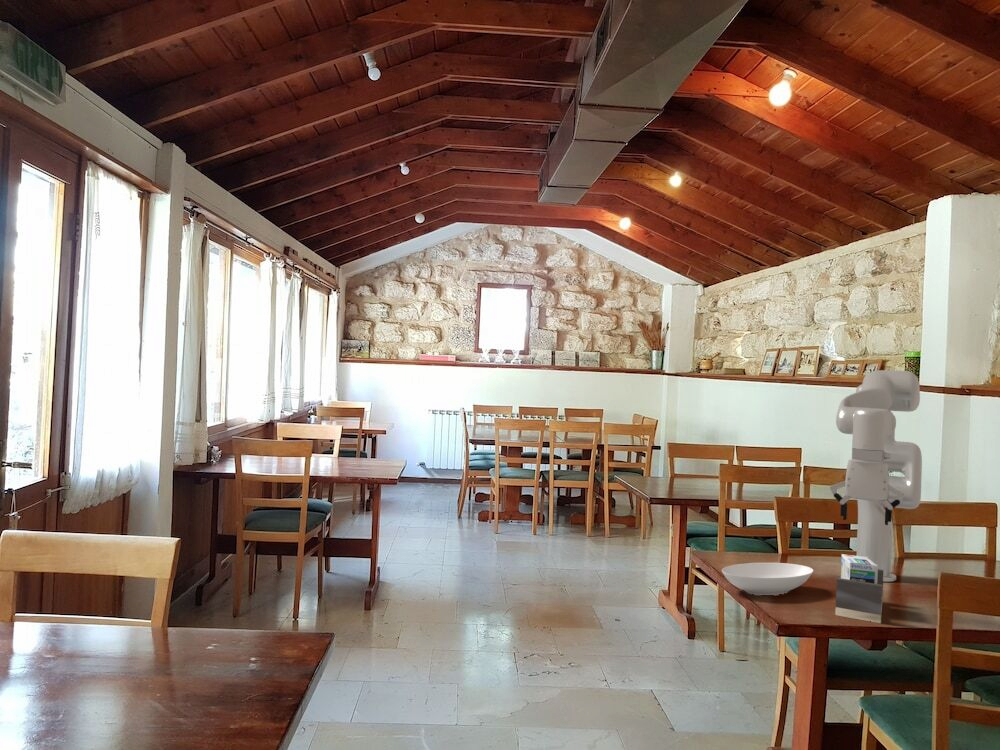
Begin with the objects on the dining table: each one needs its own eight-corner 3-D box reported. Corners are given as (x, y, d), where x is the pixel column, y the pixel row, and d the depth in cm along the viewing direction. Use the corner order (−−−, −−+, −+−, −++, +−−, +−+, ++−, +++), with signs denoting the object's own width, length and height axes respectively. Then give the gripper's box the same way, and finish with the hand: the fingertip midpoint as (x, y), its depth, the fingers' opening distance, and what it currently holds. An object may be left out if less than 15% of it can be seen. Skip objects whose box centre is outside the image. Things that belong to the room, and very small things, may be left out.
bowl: (745, 604, 181) (746, 580, 181) (705, 588, 194) (706, 566, 195) (828, 595, 193) (829, 573, 193) (786, 581, 207) (787, 560, 207)
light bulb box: (877, 608, 176) (879, 565, 176) (848, 605, 177) (849, 562, 178) (866, 596, 186) (868, 556, 186) (839, 593, 188) (840, 553, 188)
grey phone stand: (840, 596, 193) (842, 563, 193) (882, 603, 188) (883, 569, 188) (835, 615, 175) (836, 579, 175) (880, 623, 170) (882, 586, 170)
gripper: (906, 458, 182) (903, 524, 182) (832, 452, 190) (830, 515, 190) (906, 460, 175) (903, 528, 175) (830, 454, 184) (827, 519, 184)
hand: (865, 521), depth 183 cm, fingers open, 9 cm apart
